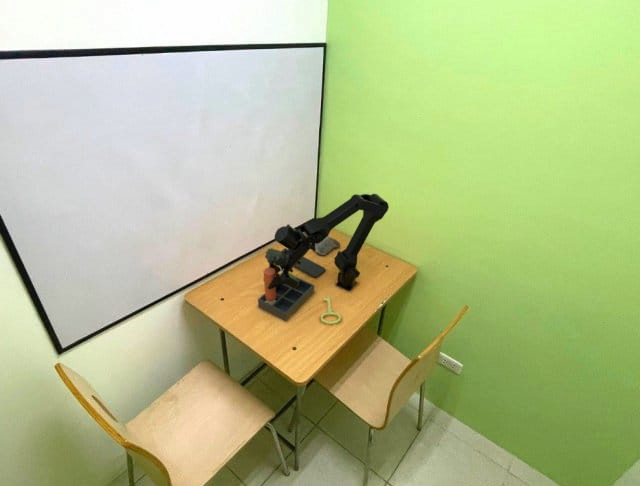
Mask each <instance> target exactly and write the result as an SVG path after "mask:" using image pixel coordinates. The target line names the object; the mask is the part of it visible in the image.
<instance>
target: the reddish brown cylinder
mask: <svg viewBox="0 0 640 486" xmlns="http://www.w3.org/2000/svg"><path fill="white" fill-rule="evenodd" d="M275 277H276V275H275V269H273V268H269V267H266V268H264V270H263V282H264V294H265V299H266V300H268V301H274V300H275V299H276V287H274V288H272V289H268V286H269V284H270V283H271V282H272V281H273V280H274V278H275Z"/></svg>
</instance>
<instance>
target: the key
mask: <svg viewBox="0 0 640 486" xmlns="http://www.w3.org/2000/svg"><path fill="white" fill-rule="evenodd" d="M322 301H323V302H326V303H327V311H326V312H324V313H322V314H321V315H320V321H321V322H322V323H324V324H327V325H336V324H339V323H340V322H341V320H342V318H341V315H340V314H339V313H338V312H334V311H333V309H332V304H331V297H329V296H328V297H323V298H322ZM328 316H334V317H337V318H338V319H336V320H331V321H330V320H326V319H324V318H325V317H328Z"/></svg>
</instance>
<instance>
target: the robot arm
mask: <svg viewBox="0 0 640 486" xmlns="http://www.w3.org/2000/svg"><path fill="white" fill-rule="evenodd" d="M388 210H389V203H388V202H387V201H386V200H385V199H384V198H383V197H381V196H380V195H379V194H377V193H371V194H369V193H362V194H358V193H357V194H356V193H355V194H352V195H351V197H350V199H348V200H346V201H345V202H344V203H342V204H340V205H339V206H338V207H336V208H335V209H333V210H332V211H330V212H329V213H327V214H326V215H324V216H322V217H316V218H314V219H312V220H309V221H308V222H306V223H304V224H301V225H298V226H296V227H293V226H291V225H290V224H289V223H287V224H286V225H285V226H284V225H283V226H281V227H279V228H277V230H276V231H275V232H274V241H275V242H277V243H278V244H280V245H281V246H283V247H284V248H283V249H282V250H279V249H275V248H268V249H267V250H266V252H265V255H264V258H265V259H266V261H267V263H268V268H273V269H275V278H274V280H273V281H272V282H271V283H270V284H269V286H268V289H272V288H274V287H277V286H280V285H283V284H286V285H288V286H290V287H292V288H294V289H295V288H296V287H297V286H298V285H299V282H298V280H297V279H296V277H297V276H296V275H294V274H292V273H293V272H294V268H295V267H294V266H295V265H296V264H297V263H298V264H300V263H301V261H300V260H301V258H302V257H305V255H306V254H307V253H308V252H309V251H310V250H311V251H313V252H315V244H318V243H320V242H322V241H323V240H324V239H325V238H326V237H327V236H329V235H330V233H331V231H332V229H334V228H335V227H337V226H339V225H340V224H341V223H343V222H344V221H346V220H347V219H348V218H350V217H352V216H353V215H354V214H356V213H357V212H359V211H362V218H361V219H360V221H359V223H358V225H357V227H356V229H355V231H354V233H352V237H351V239H350V240H349V241H348V244H347V246H346V248H345V249H343V250H338V251H337V253H336V256H334V257H333V259H334V261H333V263H334V265H335V267H336V268H337V269H338V270H339V271H338V273H337V281H336V284H335V286H336V287H339V288H341V289H343V290H345V291H348V292H351V291H352V290H353V288H354V287H355V286H356V285H357V284H358V281H357V278H359V277H360V275H361V272H360V271H359V269H358V268H356V267H357V265H358V255H359V253H360V251H361V250H362V247H363V245H364V244H365V242H366V240H367V239H368V236H369V235H370V233H371V231H372V229H373V227H374V225H375V224H376V223H377V222H378V221H380V220H382V219H383V218H384V217H385V215H386V214H387V212H388ZM280 272H281V273H280Z"/></svg>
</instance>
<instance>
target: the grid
mask: <svg viewBox="0 0 640 486" xmlns="http://www.w3.org/2000/svg"><path fill="white" fill-rule="evenodd" d="M295 277H296V279H297V280H298V282H299V285H298V286H297V287H296V288H295V289H294V288H292V287H290V286H288V285H286V284H283V285H280V286H277V287H276V299H275V300H274V301H268V300H266V299H265V293H263V294H262V295H261V296H260V297H259V298H258V299H257V305H258V308H259V309H261V310H263V311H265V312H267V313H269V314H270V315H273V316H274V317H277V318H278V319H281V320H283V321H285V322H287V321H288V320H289V319H290V318H291V317H292V316H293V315H294V314H295V312H297V311H298V309H300V308H301V306H302V305H303V304H304V303H306V302H307V300H308V299H309V298H311V296H312V295H313V294H314V293H315V284H312V283H311V282H309V281H306V280H304V279H302V278H299V277H297V276H295Z"/></svg>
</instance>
